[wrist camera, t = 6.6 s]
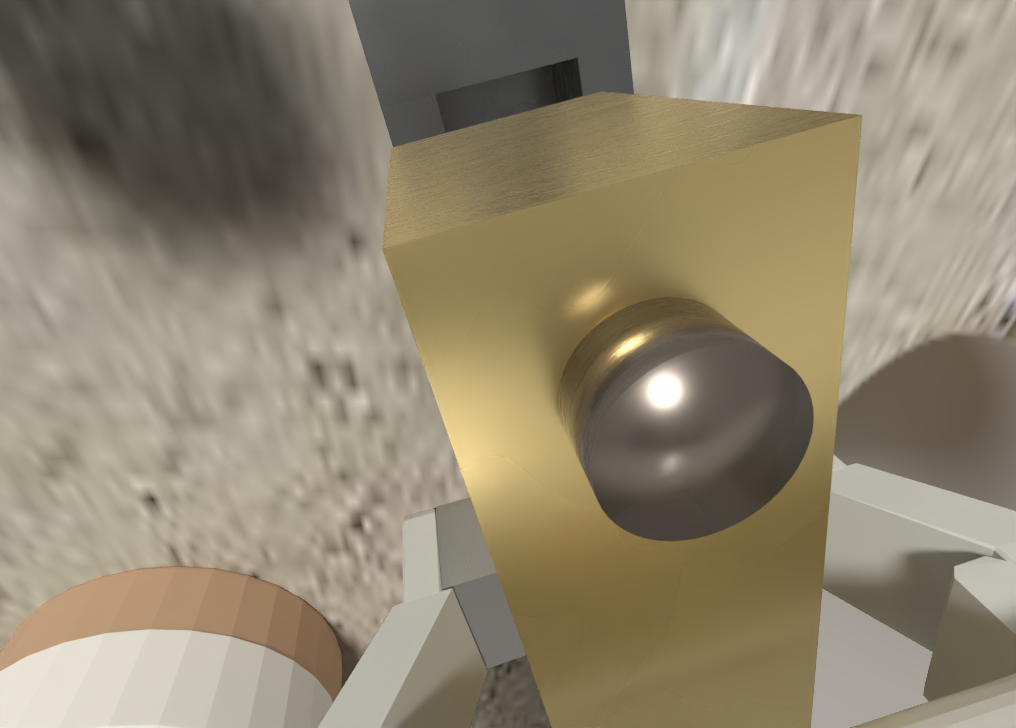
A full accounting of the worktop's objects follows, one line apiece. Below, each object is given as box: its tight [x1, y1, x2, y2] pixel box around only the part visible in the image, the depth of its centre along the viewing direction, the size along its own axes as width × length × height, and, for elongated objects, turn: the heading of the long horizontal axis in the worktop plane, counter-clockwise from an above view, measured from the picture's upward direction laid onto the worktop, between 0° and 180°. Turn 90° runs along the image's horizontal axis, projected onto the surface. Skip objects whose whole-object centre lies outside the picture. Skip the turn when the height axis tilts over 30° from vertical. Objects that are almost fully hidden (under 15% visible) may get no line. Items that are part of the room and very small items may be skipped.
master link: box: [382, 91, 862, 728], centre depth 8 cm, size 11×3×6 cm, turn 13°
